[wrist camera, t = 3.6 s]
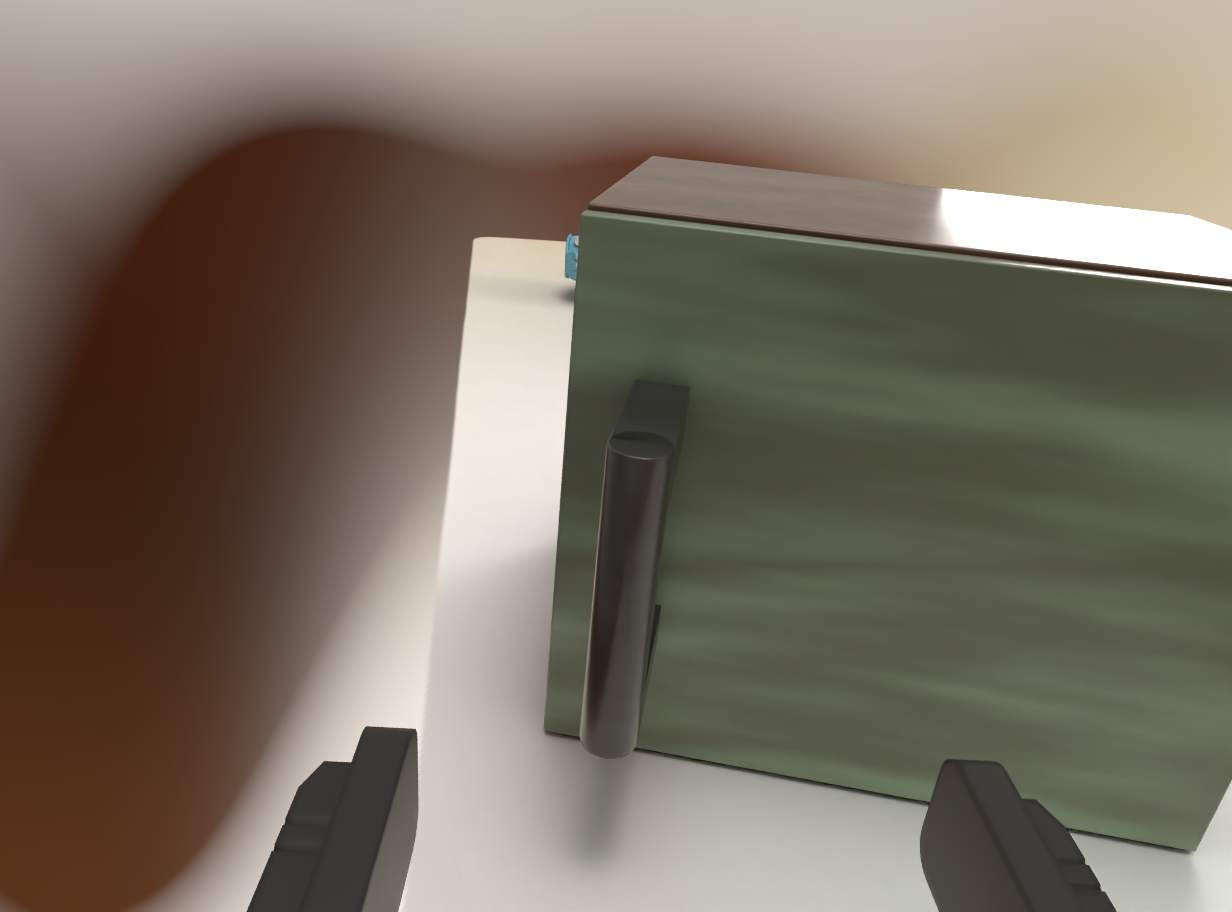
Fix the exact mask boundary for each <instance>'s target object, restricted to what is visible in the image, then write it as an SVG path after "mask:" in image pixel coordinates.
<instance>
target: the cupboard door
mask: <svg viewBox="0 0 1232 912" xmlns="http://www.w3.org/2000/svg"><path fill="white" fill-rule="evenodd" d="M580 217H581V218H580V231H579V244H578V258H577V272H576V286H575V300H574V315H573V329H572V343H571V357H570V371H569V385H568V399H567V413H566V427H565V441H564V455H563V469H562V483H561V497H560V511H559V525H558V539H557V553H556V567H555V581H554V595H553V609H552V623H551V637H550V651H549V665H548V679H547V693H546V707H545V721H544V730H545V731H550V732H555V733H561V734H566V735H571V736H577V737H580V740H581V743H582V745H583V746H584V747H585V749H586V750H588V751H589V752H590V753H592V754H594V755H596V756H599V757H602V758H609V759H613V758H620V757H623V756H626V755H627V754H629V753H630V752H632V751H633V749H634V748H635V747H636V748H641V749H647V750H652V751H657V752H663V753H668V754H673V755H679V756H684V757H690V758H695V759H700V760H706V761H711V762H716V763H722V764H727V765H733V766H738V767H743V768H749V769H754V770H759V771H765V772H770V773H776V774H781V775H786V776H792V777H797V778H803V779H808V780H813V781H819V782H824V783H829V784H835V785H840V786H846V787H851V788H856V789H862V790H867V791H872V792H878V793H883V794H889V795H894V796H899V797H905V798H910V799H915V800H921V801H926V802H930V801H931V797H932V794H933V791H934V788H935V784H936V781H937V778H938V775H939V771H940V768H941V766H942V764H943V762H944V761H945V760H947V759H962V760H981V761H996V762H999V763H1000V764H1001V765H1002V766H1003V767H1004V768H1005V770H1006V771H1007V773H1008V775H1009V777H1010V778H1011V780H1012V782H1013V784H1014V785H1015V787H1016V789H1017V791H1018V792H1019V794H1020V796H1021V798H1022V799H1036V800H1037V801H1038V802H1039V803H1040V804H1041V805H1043V806H1044V807H1045V808H1046V809H1047V810H1048V811H1049V812H1050V813H1051V814H1052V815H1053V816H1054V817H1055V818H1056V819H1057V820H1059V821H1060V822H1061V823H1062V824H1063V825H1064V826H1065V827H1066V828H1071V829H1077V830H1082V831H1088V832H1093V833H1098V834H1104V835H1109V836H1114V837H1120V838H1125V839H1131V840H1136V841H1141V842H1147V843H1152V844H1157V845H1163V846H1168V847H1174V848H1179V849H1184V850H1190V851H1196V849H1197V847H1198V845H1199V843H1200V841H1201V839H1202V837H1203V835H1204V833H1205V831H1206V830H1207V828H1208V826H1209V824H1210V822H1211V820H1212V818H1213V816H1214V814H1215V812H1216V810H1217V808H1218V806H1219V804H1220V802H1221V800H1222V798H1223V796H1224V794H1225V792H1226V790H1227V788H1228V786H1229V784H1230V782H1231V780H1232V287H1230V286H1222V285H1214V284H1205V283H1197V282H1188V281H1180V280H1172V279H1163V278H1155V277H1146V276H1138V275H1130V274H1121V273H1113V272H1104V271H1096V270H1088V269H1079V268H1071V267H1062V266H1054V265H1046V264H1037V263H1029V262H1020V261H1012V260H1004V259H995V258H987V257H978V256H970V255H962V254H953V253H945V252H936V251H928V250H920V249H911V248H903V247H894V246H886V245H878V244H869V243H861V242H852V241H844V240H836V239H827V238H819V237H810V236H802V235H794V234H785V233H777V232H768V231H760V230H752V229H743V228H735V227H726V226H718V225H710V224H701V223H693V222H684V221H676V220H668V219H659V218H651V217H643V216H634V215H626V214H617V213H609V212H601V211H592V210H586V211H584V212H583V213H582V214H581V216H580Z"/></svg>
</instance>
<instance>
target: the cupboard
mask: <svg viewBox="0 0 1232 912" xmlns="http://www.w3.org/2000/svg"><path fill="white" fill-rule="evenodd" d="M587 210H592V211H601V212H609V213H617V214H626V215H634V216H643V217H651V218H659V219H668V220H676V221H684V222H693V223H701V224H710V225H718V226H726V227H735V228H743V229H752V230H760V231H768V232H777V233H785V234H794V235H802V236H810V237H819V238H827V239H836V240H844V241H852V242H861V243H869V244H878V245H886V246H894V247H903V248H911V249H920V250H928V251H936V252H945V253H953V254H962V255H970V256H978V257H987V258H995V259H1004V260H1012V261H1020V262H1029V263H1037V264H1046V265H1054V266H1062V267H1071V268H1079V269H1088V270H1096V271H1104V272H1113V273H1121V274H1130V275H1138V276H1146V277H1155V278H1163V279H1172V280H1180V281H1188V282H1197V283H1205V284H1214V285H1222V286H1230V287H1232V231H1231V230H1228V229H1225V228H1223V227H1220V226H1217V225H1214V224H1211V223H1208V222H1206V221H1203V220H1200V219H1197V218H1194V217H1191V216H1186V215H1177V214H1168V213H1159V212H1150V211H1141V210H1132V209H1123V208H1114V207H1105V206H1096V205H1087V204H1078V203H1069V202H1060V201H1051V200H1043V199H1034V198H1025V197H1015V196H1006V195H998V194H989V193H979V192H971V191H961V190H952V189H943V188H934V187H926V186H917V185H908V184H898V183H890V182H881V181H872V180H863V179H854V178H845V177H836V176H827V175H818V174H809V173H800V172H790V171H782V170H772V169H764V168H754V167H746V166H736V165H727V164H718V163H710V162H701V161H692V160H683V159H674V158H665V157H656V156H653V157H651V158H650V159H648V160H647V161H645V162H644V163H643V164H641V165H640V166H639V167H637V168H636V169H635V170H633V171H632V172H631V173H629V174H628V175H627V176H625V177H624V178H623V179H621V180H620V181H618V182H617V183H616V184H614V185H613V186H612V187H610V188H609V189H608V190H606V191H605V192H604V193H603V194H601V195H600V196H598V197H597V198H596V199H594V200H593V201H592V202H590V203H589V204H588V209H587Z"/></svg>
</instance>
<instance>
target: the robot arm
mask: <svg viewBox="0 0 1232 912" xmlns="http://www.w3.org/2000/svg"><path fill="white" fill-rule="evenodd" d="M417 819H418V747H417V732H416V729H406V728H387V727H369V726H367V727H365V729H364V730H363V732H362V734H361V737H360V740H359V743H358V746H357V749H356V752H355V754H354V757H353V760H352V762H351V763H350V762H330V761H324V762H323V763H322V764H321V765H320V766H319V767H318V768H317V769H316V770H315V771H314V772H313V773H312V774H311V775H310V776H309V777H308V778H307V779H306V780H305V781H304V782H303V784H301V785H300V786H299V788H298V790H297V792H296V795H295V797H294V799H293V802H292V804H291V807H290V809H289V811H288V814H287V816H286V820H285V825H283V826H282V828H281V831H280V833H279V836H278V838H277V840H276V843H275V847H274V851H272V852H271V855H270V857H269V859H268V862H267V864H266V867H265V869H264V871H263V874H262V876H261V879H260V881H259V883H258V886H257V888H256V891H255V893H254V895H253V898H252V900H251V903H250V905H249V907H248V910H247V912H398V910H399V906H400V902H401V898H402V894H403V889H404V885H405V881H406V877H407V873H408V868H409V864H410V860H411V856H412V852H413V847H414V842H415V836H416V829H417ZM920 855H921V862H922V867H923V871H924V874H925V877H926V880H927V882H928V885H929V887H930V890H931V892H932V895H933V898H934V900H935V903H936V905H937V908H938V910H939V912H1117V911H1116V910H1115V908H1114V906H1113V905H1112V903H1111V901H1110V900H1109V898H1108V896H1107V895H1106V893H1105V892H1102V891H1101V888H1100V886H1101V885H1100V883H1099V881H1098V880H1097V878H1096V876H1095V875H1094V873H1093V872H1092V870H1091V868H1090V867H1089V865H1086V864H1085V858H1084V857H1083V855H1082V853H1081V852H1080V850H1079V848H1078V847H1077V845H1076V843H1075V842H1074V840H1073V838H1072V837H1071V835H1070V833H1069V832H1068V830H1067V828H1066V827H1065V826H1064V825H1063V824H1062V823H1061V822H1060V821H1059V820H1057V819H1056V818H1055V817H1054V816H1053V815H1052V814H1051V813H1050V812H1049V811H1048V810H1047V809H1046V808H1045V807H1044V806H1043V805H1041V804H1040V803H1039V802H1038V801H1037V800H1036V799H1022V798H1021V796H1020V794H1019V792H1018V791H1017V789H1016V787H1015V785H1014V784H1013V782H1012V780H1011V778H1010V777H1009V775H1008V773H1007V771H1006V770H1005V768H1004V767H1003V766H1002V765H1001V764H1000V763H999V762H996V761H981V760H962V759H947V760H945V761H944V762H943V764H942V766H941V768H940V771H939V775H938V778H937V781H936V784H935V788H934V791H933V794H932V797H931V801H930V804H929V807H928V810H927V814H926V817H925V820H924V824H923V827H922V831H921V836H920Z"/></svg>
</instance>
